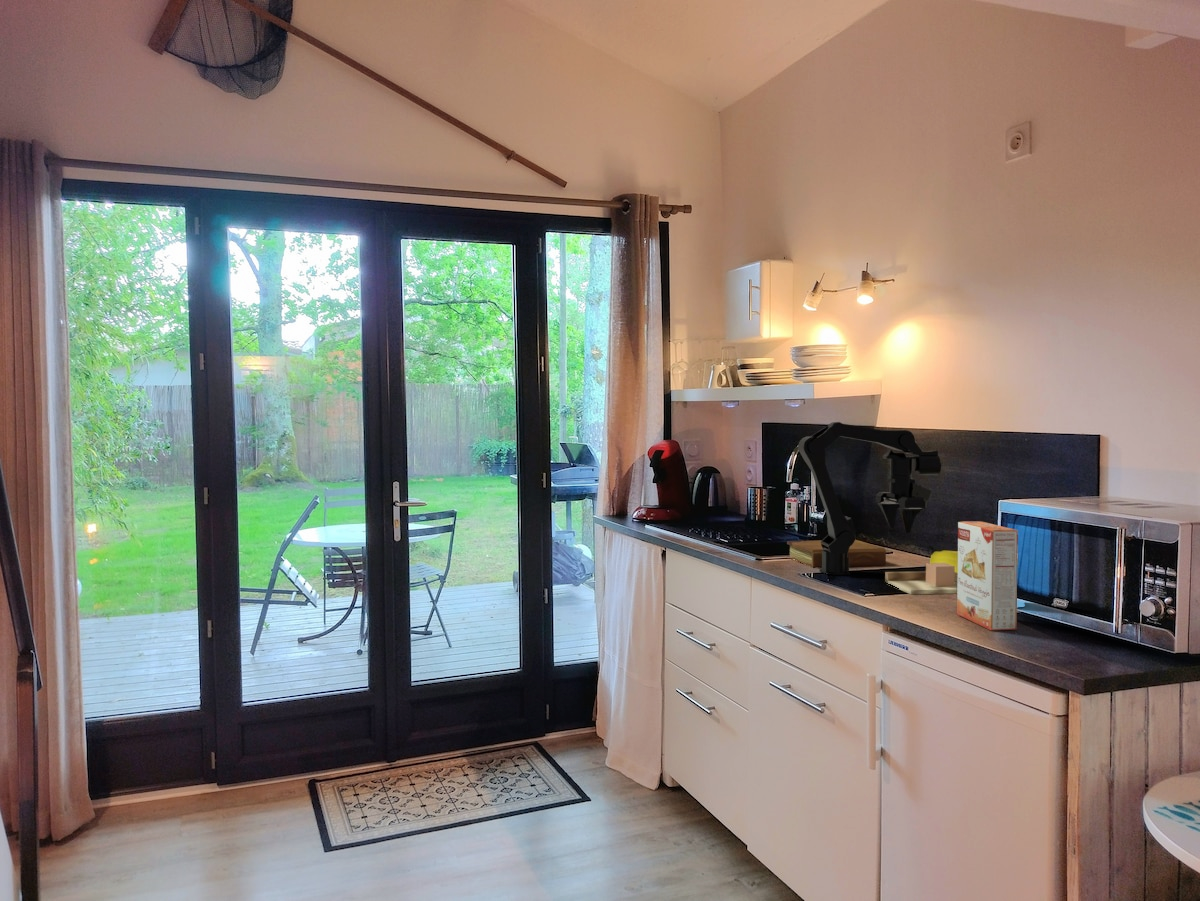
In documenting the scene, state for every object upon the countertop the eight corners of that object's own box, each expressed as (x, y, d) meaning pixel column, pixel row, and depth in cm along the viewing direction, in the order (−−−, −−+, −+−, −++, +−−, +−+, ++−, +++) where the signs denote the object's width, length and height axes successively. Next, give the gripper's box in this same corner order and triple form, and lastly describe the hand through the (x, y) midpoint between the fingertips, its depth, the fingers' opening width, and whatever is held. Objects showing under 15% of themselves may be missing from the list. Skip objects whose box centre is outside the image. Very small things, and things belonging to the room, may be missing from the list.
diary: (813, 570, 246) (813, 550, 246) (786, 559, 264) (786, 541, 264) (885, 567, 250) (885, 547, 250) (855, 557, 268) (855, 538, 268)
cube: (954, 585, 214) (954, 566, 214) (935, 586, 214) (936, 566, 214) (943, 582, 219) (944, 562, 219) (925, 582, 219) (926, 563, 218)
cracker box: (954, 615, 187) (956, 520, 186) (981, 615, 187) (983, 520, 186) (989, 631, 173) (991, 529, 172) (1017, 630, 173) (1019, 528, 172)
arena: (910, 594, 209) (911, 582, 209) (885, 583, 223) (885, 572, 223) (979, 592, 211) (979, 580, 211) (949, 582, 225) (949, 570, 225)
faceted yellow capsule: (939, 569, 245) (920, 572, 241) (940, 546, 244) (921, 548, 241) (994, 580, 229) (974, 582, 225) (994, 555, 228) (975, 557, 225)
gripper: (945, 477, 228) (944, 534, 229) (911, 472, 247) (910, 526, 247) (906, 477, 227) (905, 535, 227) (875, 472, 245) (874, 526, 246)
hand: (899, 530), depth 237 cm, fingers open, 9 cm apart
